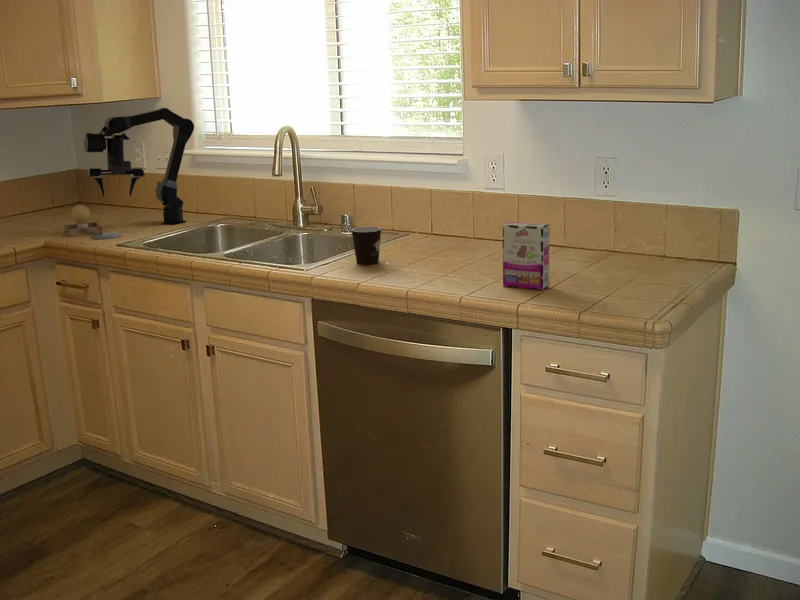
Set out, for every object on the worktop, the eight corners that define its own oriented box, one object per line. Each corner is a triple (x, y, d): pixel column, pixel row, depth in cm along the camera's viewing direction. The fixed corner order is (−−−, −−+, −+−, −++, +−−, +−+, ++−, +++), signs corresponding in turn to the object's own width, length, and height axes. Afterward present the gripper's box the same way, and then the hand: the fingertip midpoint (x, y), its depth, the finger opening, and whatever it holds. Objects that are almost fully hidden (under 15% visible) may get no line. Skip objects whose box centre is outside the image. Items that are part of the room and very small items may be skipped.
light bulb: (88, 230, 331) (85, 203, 329) (95, 232, 327) (91, 205, 324) (71, 232, 327) (67, 205, 325) (77, 235, 323) (74, 207, 320)
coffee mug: (364, 267, 260) (363, 233, 257) (347, 262, 266) (345, 229, 264) (396, 260, 267) (395, 227, 264) (378, 256, 274) (376, 223, 271)
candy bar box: (550, 286, 233) (550, 223, 229) (542, 291, 229) (543, 227, 224) (510, 282, 238) (509, 220, 234) (502, 286, 234) (501, 224, 230)
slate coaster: (109, 232, 325) (109, 230, 325) (127, 235, 320) (127, 233, 320) (85, 237, 318) (85, 235, 317) (103, 240, 312) (103, 238, 312)
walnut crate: (97, 228, 334) (96, 221, 334) (102, 233, 324) (101, 226, 324) (64, 231, 330) (63, 225, 329) (68, 237, 320) (67, 230, 319)
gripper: (90, 154, 312) (91, 199, 316) (145, 154, 320) (146, 198, 323) (86, 151, 322) (88, 195, 326) (140, 152, 330) (142, 194, 333)
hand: (116, 196), depth 327 cm, fingers open, 9 cm apart
